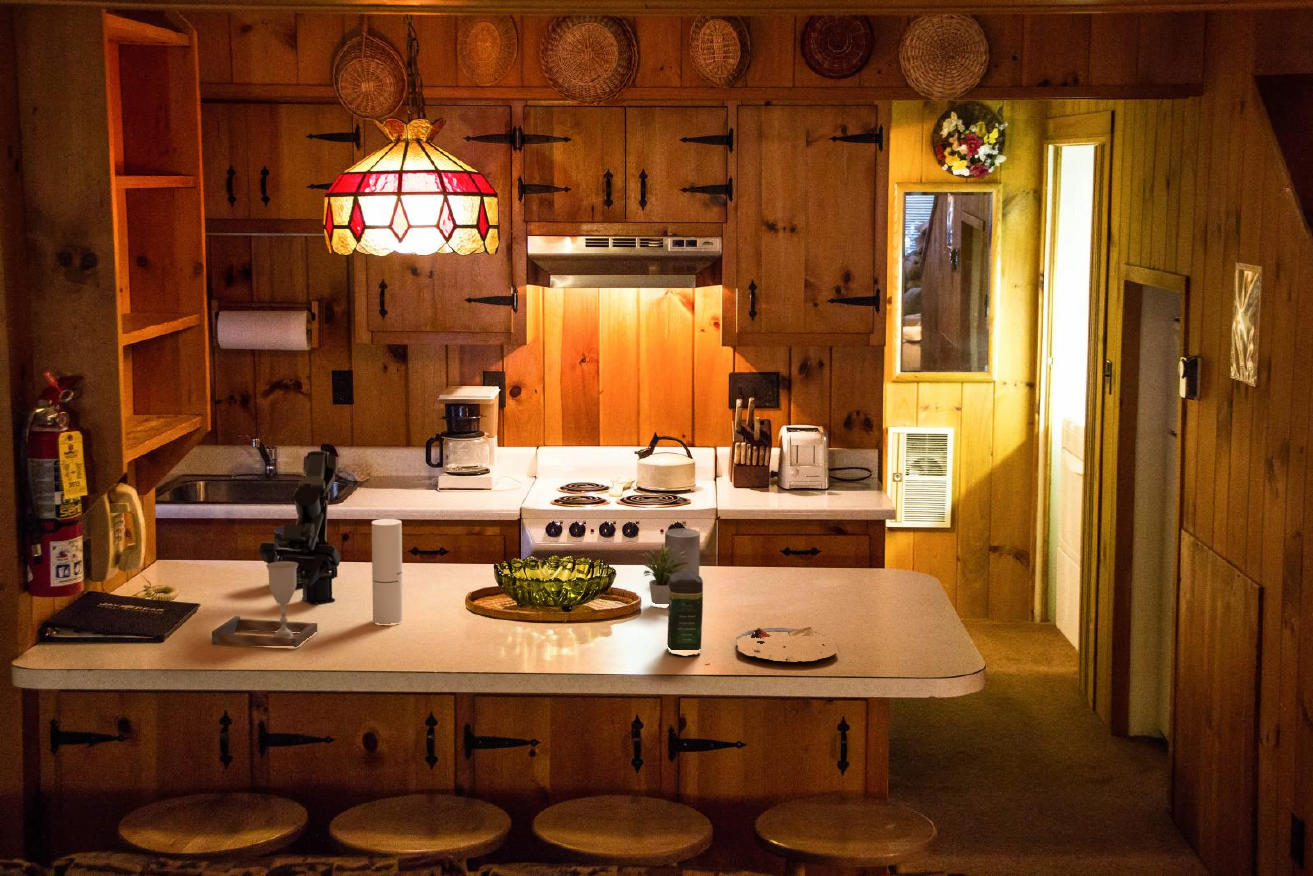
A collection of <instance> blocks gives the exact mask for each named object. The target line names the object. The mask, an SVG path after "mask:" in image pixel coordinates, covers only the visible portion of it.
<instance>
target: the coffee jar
mask: <svg viewBox="0 0 1313 876" xmlns="http://www.w3.org/2000/svg"><path fill="white" fill-rule="evenodd" d="M703 583H704V582H703V579H702V577H701V575H700V574H699V575H697V574H696V573H694V572H693V571H677V572H676V573H674V574H673V575H671V576H670V579H669V606H668V608H667V609H668V610H667V611H668V615H667V645H668V647H669V648H670V649H671V650H699V649H701V650H702V636H703V634H702V632H703V631H702V629H703V608H704V607H703V606H704V603H703V602H704V600H703V599H704V584H703ZM667 645H666V646H667Z"/></svg>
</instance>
